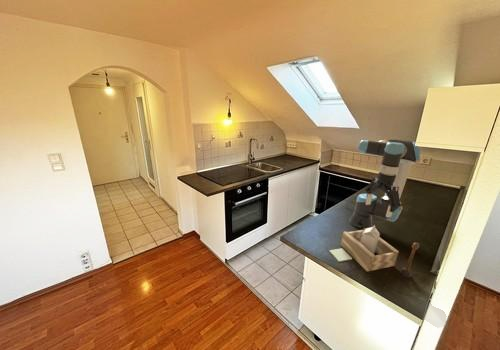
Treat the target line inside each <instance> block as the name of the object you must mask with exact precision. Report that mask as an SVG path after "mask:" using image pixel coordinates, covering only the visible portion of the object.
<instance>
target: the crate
mask: <svg viewBox="0 0 500 350" xmlns="http://www.w3.org/2000/svg"><path fill="white" fill-rule="evenodd" d="M366 229H367V228H366ZM366 229H360V230H354V231H343V233H342V235H341V241H340V246H341V248H343V249H344V250H345V252H346V253H347V254H348V255H349V256H350V257H351V258H352V259H354V261H356V262H357V263H358V264H359V265H360V266H361V267H362V268H363V269H364V270H365V271H366V272H371V271H376V270H381V269H385V268H391V267H394V266H395V263H396V261H397V259H398V256H399V253H400V252H399V250H397V249H396V248H395V247H394V246H392V245H391V244H389V243H388V242H387V241H385V240H384V239H382V237H380V236H379V239H378V243H377V246H376V249H375V253H376V255H375V253H374V254H372V253H371V252H370V251H369V250H368V249H367V248H365V247H364V246H363V245H362V244H361V243H360V241H361V237H362V234H363V232H364V231H365V230H366Z"/></svg>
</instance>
